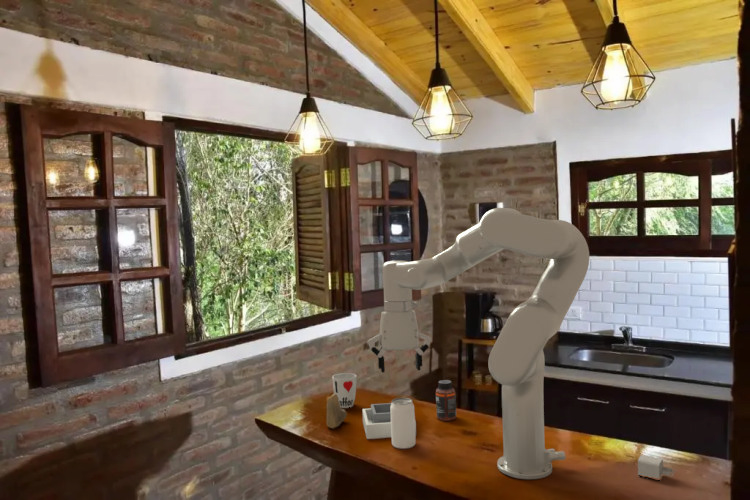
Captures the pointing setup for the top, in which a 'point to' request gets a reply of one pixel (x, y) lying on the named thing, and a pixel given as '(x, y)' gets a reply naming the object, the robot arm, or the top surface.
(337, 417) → the stone
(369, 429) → the inlet box
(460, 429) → the top surface
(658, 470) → the usb wall charger
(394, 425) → the can
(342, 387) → the cup
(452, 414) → the supplement bottle
